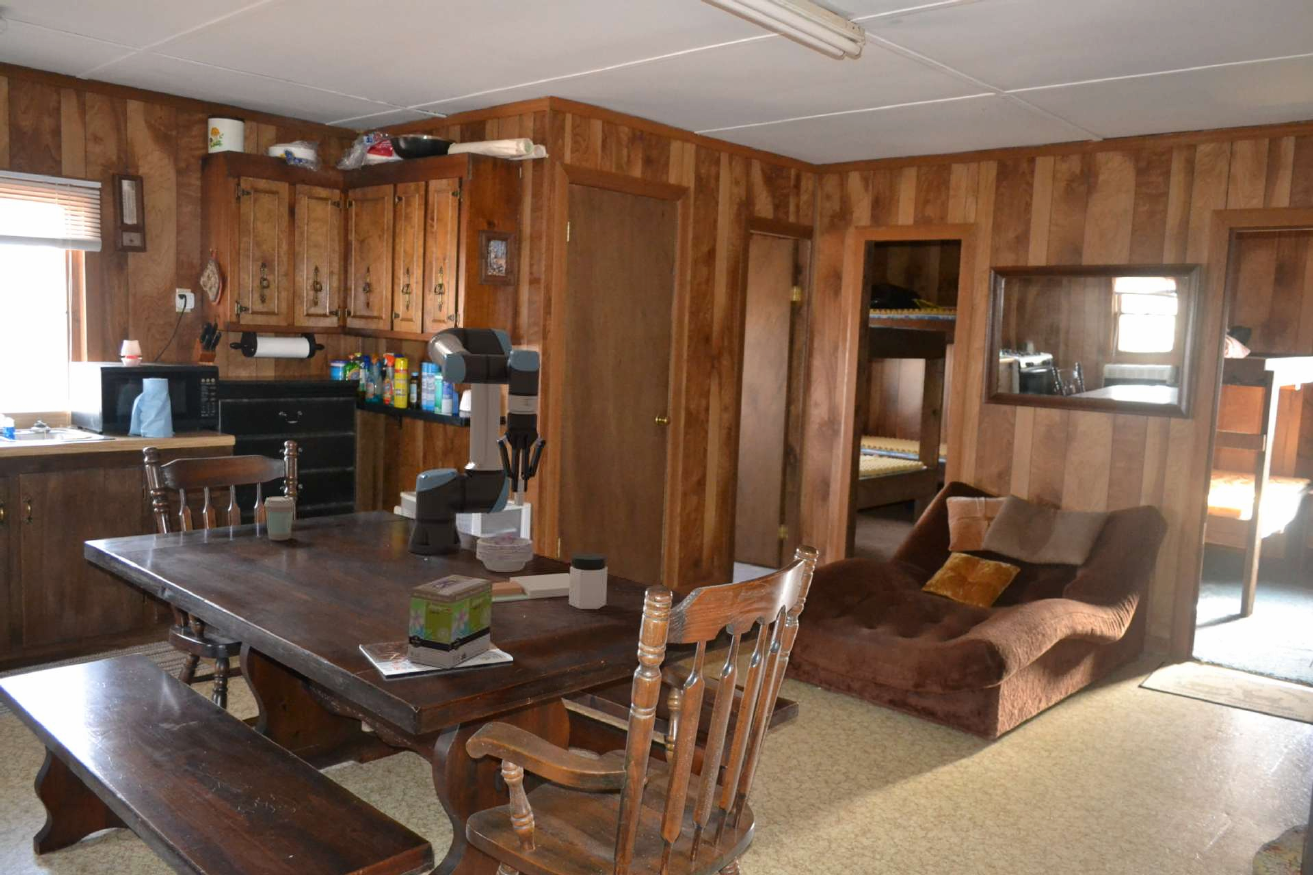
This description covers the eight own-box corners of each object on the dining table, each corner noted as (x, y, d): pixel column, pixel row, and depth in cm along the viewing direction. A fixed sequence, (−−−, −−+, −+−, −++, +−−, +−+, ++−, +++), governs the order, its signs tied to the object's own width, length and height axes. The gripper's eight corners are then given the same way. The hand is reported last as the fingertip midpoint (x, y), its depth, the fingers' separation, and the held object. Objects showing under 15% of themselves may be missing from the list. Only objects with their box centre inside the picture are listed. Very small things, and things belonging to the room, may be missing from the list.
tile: (479, 590, 255) (479, 584, 255) (513, 587, 260) (514, 581, 260) (487, 596, 250) (488, 590, 250) (522, 593, 255) (522, 587, 254)
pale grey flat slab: (509, 585, 263) (509, 577, 263) (567, 580, 271) (567, 573, 271) (529, 598, 251) (530, 590, 251) (589, 593, 259) (589, 585, 259)
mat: (450, 589, 257) (450, 587, 256) (507, 584, 264) (507, 583, 264) (469, 604, 243) (469, 602, 243) (529, 599, 251) (529, 597, 251)
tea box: (450, 670, 197) (452, 594, 195) (406, 662, 200) (408, 587, 199) (491, 649, 211) (493, 578, 209) (449, 642, 214) (451, 572, 213)
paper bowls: (515, 560, 292) (516, 532, 291) (542, 572, 280) (543, 543, 279) (466, 565, 283) (467, 537, 282) (492, 577, 270) (493, 548, 270)
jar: (580, 598, 254) (582, 550, 253) (610, 603, 251) (612, 554, 250) (563, 606, 246) (565, 557, 244) (594, 611, 243) (596, 561, 241)
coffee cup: (288, 542, 301) (288, 501, 300) (259, 540, 301) (259, 500, 300) (298, 536, 309) (299, 496, 308) (270, 535, 309) (270, 495, 308)
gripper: (502, 413, 251) (498, 508, 254) (552, 413, 257) (548, 506, 260) (492, 410, 258) (489, 502, 261) (541, 410, 264) (537, 501, 267)
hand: (518, 504), depth 261 cm, fingers closed
